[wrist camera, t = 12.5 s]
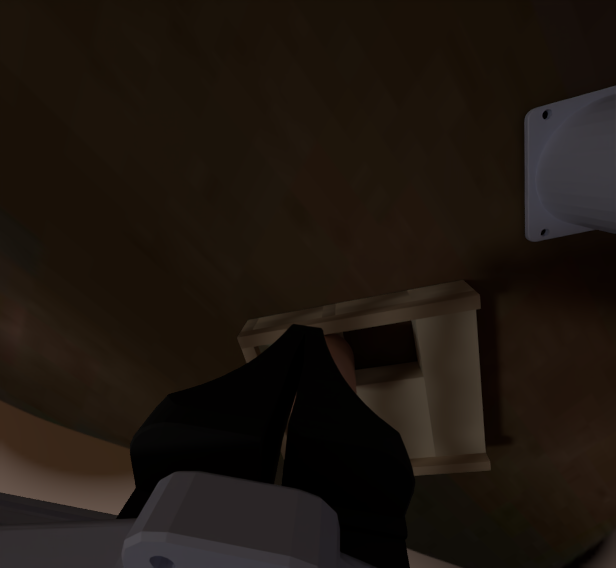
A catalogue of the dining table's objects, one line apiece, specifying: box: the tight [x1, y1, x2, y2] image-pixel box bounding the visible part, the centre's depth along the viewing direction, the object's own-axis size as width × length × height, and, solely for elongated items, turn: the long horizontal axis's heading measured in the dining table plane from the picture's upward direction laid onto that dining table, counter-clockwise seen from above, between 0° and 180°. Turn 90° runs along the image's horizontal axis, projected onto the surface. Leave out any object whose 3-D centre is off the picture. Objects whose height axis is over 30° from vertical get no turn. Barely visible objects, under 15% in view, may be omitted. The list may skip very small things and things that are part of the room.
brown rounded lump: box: [291, 333, 357, 412], centre depth 21 cm, size 5×5×4 cm
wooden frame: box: [237, 280, 491, 476], centre depth 24 cm, size 17×16×3 cm
